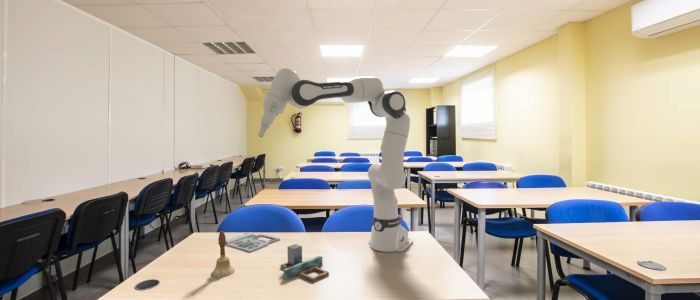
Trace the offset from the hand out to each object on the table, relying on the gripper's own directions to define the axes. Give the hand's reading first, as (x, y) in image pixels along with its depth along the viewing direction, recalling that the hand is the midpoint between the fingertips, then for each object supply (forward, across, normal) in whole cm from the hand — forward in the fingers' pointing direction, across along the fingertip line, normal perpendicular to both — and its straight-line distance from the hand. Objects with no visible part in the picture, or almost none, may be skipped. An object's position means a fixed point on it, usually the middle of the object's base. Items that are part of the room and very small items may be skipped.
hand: (260, 136), depth 131 cm
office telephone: (+49, +31, -15) cm, 60 cm away
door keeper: (+42, -10, -36) cm, 56 cm away
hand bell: (+54, -3, -8) cm, 54 cm away
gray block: (+43, -6, -33) cm, 54 cm away
